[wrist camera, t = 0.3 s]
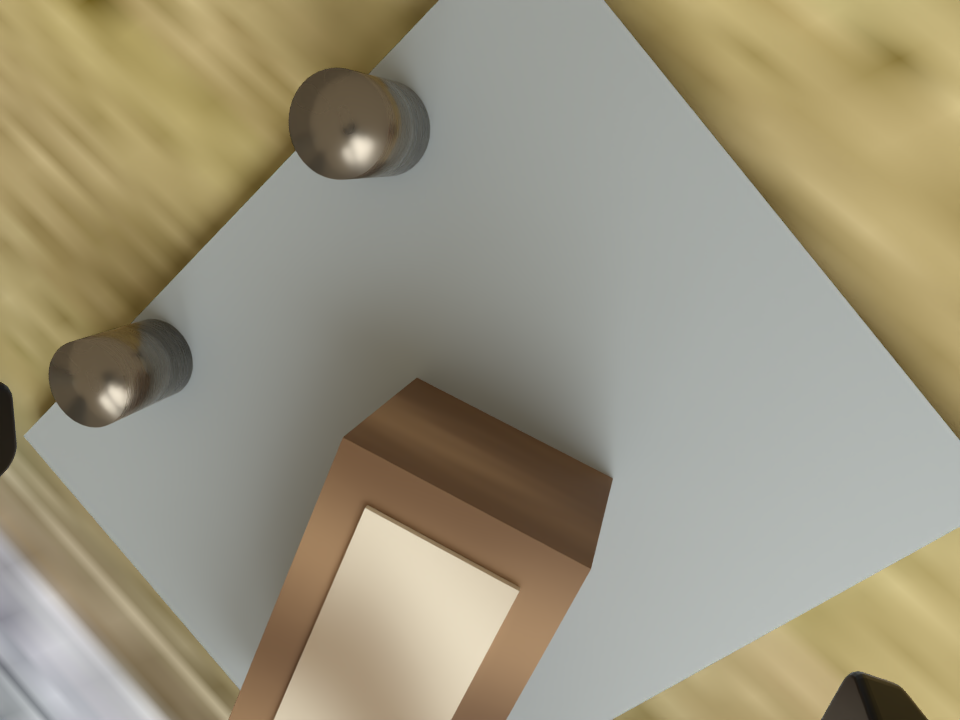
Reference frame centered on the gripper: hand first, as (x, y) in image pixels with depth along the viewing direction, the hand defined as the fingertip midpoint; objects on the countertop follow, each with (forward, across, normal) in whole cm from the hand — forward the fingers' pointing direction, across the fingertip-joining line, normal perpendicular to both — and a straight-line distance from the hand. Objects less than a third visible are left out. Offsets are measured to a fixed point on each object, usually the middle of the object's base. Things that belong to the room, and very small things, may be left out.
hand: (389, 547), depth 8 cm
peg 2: (+14, +6, -1) cm, 15 cm away
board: (+13, +2, +8) cm, 15 cm away
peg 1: (+12, +11, +7) cm, 18 cm away
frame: (+12, +2, +12) cm, 16 cm away
